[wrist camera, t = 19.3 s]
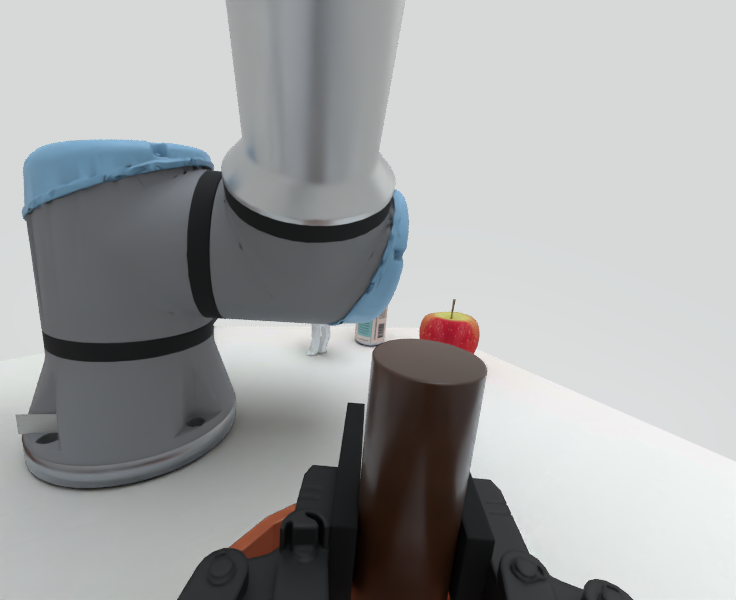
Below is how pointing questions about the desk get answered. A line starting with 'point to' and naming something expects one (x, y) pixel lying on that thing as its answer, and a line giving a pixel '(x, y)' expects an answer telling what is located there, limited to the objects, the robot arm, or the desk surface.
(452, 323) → the apple
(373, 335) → the beer can
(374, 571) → the muddler
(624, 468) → the desk surface
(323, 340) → the toy robot
